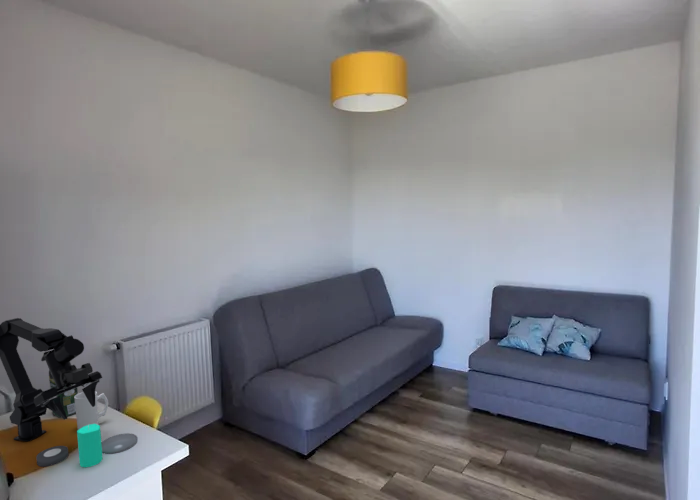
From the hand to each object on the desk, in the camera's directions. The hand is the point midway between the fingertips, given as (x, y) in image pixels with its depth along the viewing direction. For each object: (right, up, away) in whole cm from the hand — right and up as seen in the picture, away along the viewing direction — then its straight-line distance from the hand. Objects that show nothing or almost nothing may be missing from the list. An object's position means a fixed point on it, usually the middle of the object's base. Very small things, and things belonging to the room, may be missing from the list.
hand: (80, 412), depth 135 cm
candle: (+6, -13, -4) cm, 15 cm away
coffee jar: (-23, -11, +29) cm, 39 cm away
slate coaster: (+9, -12, +5) cm, 16 cm away
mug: (-6, -12, +18) cm, 22 cm away
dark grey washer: (-7, -13, -3) cm, 15 cm away
